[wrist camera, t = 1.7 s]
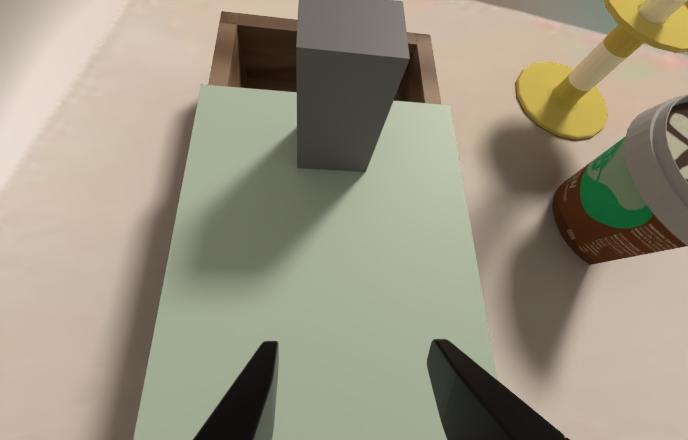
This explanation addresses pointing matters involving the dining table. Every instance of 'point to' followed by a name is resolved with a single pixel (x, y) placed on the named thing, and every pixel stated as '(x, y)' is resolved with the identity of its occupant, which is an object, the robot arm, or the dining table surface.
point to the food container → (631, 191)
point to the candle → (599, 67)
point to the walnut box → (280, 58)
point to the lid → (319, 245)
